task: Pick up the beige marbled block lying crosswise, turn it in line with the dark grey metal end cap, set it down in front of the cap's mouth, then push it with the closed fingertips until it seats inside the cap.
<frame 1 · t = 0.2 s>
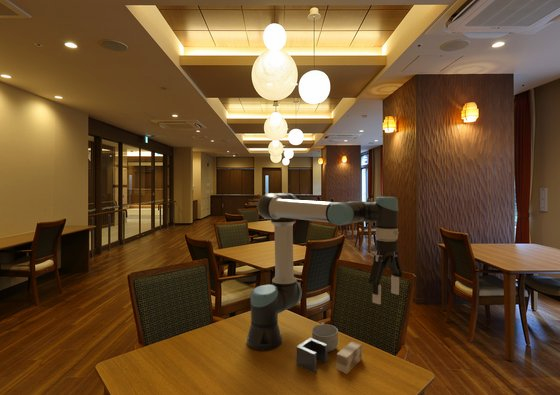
hand: (386, 298, 107), 27 cm above the table, fingers open, 13 cm apart
end cap: (311, 363, 113), on the table
teacup: (324, 346, 125), on the table
beige marbled block: (349, 364, 112), on the table
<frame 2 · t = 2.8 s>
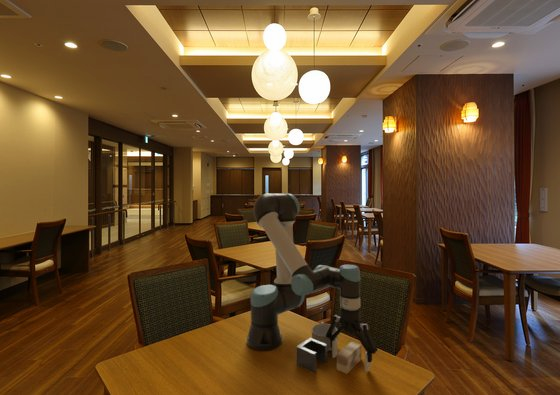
hand: (350, 363, 112), 1 cm above the table, fingers open, 13 cm apart
teacup: (324, 345, 126), on the table, touching gripper, hand
everything else where it was.
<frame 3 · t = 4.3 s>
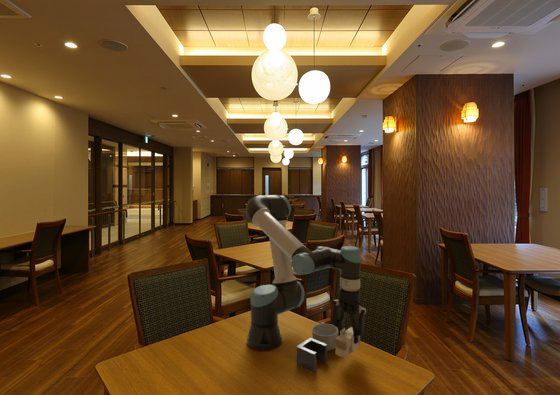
hand: (347, 348, 113), 6 cm above the table, fingers closed on beige marbled block, 4 cm apart
teacup: (325, 346, 126), on the table
beige marbled block: (348, 349, 113), point 5 cm above the table, touching gripper
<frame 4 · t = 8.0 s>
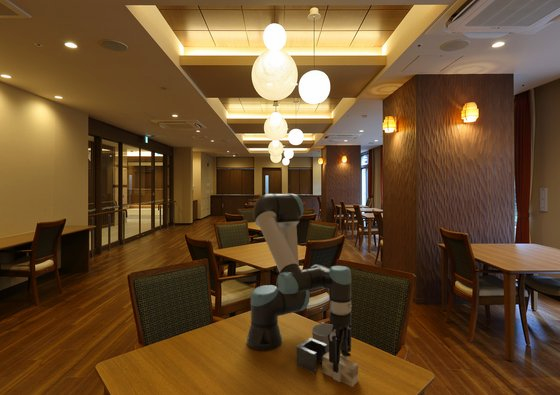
hand: (340, 376, 105), 0 cm above the table, fingers closed on beige marbled block, 4 cm apart
beige marbled block: (339, 376, 105), on the table, touching gripper
everything else where it was.
when the fingers open (0 cm above the table, at t = 9.0 s): beige marbled block stays where it is, on the table.
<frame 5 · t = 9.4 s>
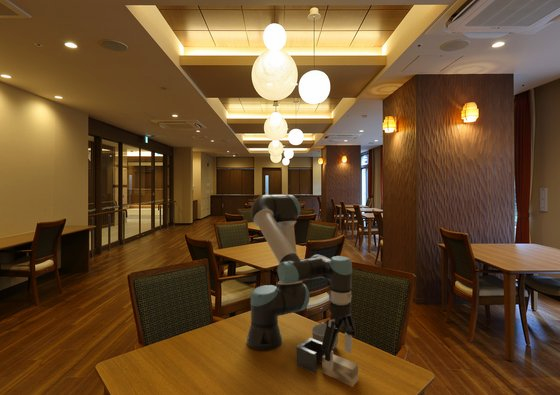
hand: (338, 359, 105), 6 cm above the table, fingers open, 13 cm apart
beige marbled block: (339, 377, 105), on the table
everything else where it was.
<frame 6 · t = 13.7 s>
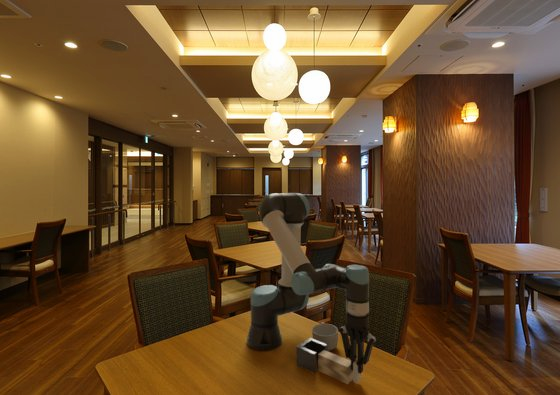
hand: (356, 380, 101), 1 cm above the table, fingers closed
beige marbled block: (335, 374, 106), on the table, touching gripper
everything else where it was.
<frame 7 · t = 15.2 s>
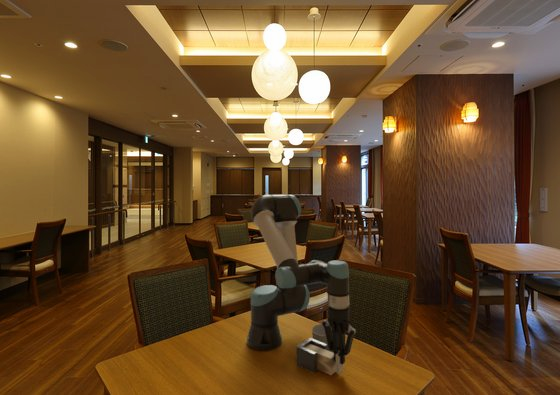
hand: (339, 371, 105), 2 cm above the table, fingers closed
beige marbled block: (320, 366, 110), on the table, touching end cap, gripper
everything else where it was.
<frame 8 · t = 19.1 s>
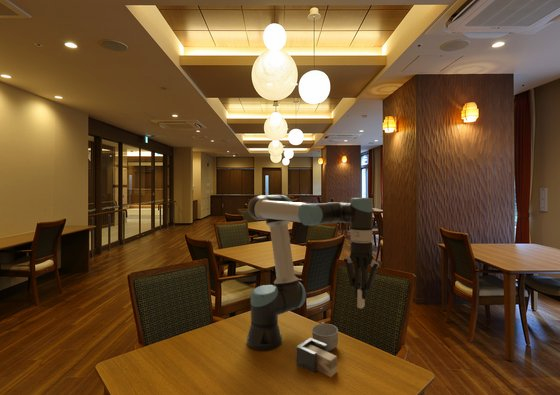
hand: (361, 306, 105), 24 cm above the table, fingers closed
beige marbled block: (320, 368, 110), on the table
everything else where it was.
at the end: beige marbled block 0.3 cm from the target spot on the end cap, point 0.0 cm above the end cap's base; beige marbled block tilted 0° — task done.
